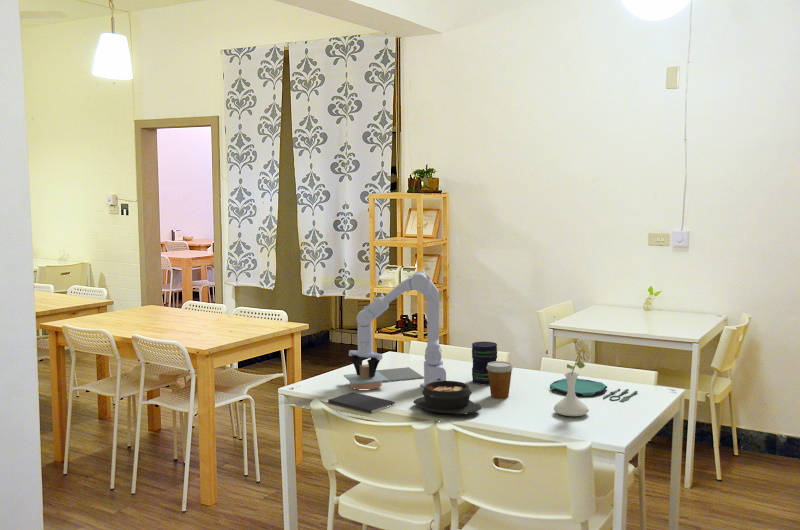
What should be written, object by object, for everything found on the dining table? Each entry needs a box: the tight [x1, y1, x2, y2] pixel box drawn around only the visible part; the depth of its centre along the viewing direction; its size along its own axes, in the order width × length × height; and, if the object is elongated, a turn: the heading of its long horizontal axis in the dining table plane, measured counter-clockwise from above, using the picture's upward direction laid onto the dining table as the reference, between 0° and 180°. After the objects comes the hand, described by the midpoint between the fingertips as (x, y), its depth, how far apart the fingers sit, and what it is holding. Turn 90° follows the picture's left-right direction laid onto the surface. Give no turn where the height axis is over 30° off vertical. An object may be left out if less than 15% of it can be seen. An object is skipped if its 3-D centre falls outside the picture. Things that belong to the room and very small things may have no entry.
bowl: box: [349, 381, 383, 390], centre depth 286 cm, size 12×12×3 cm
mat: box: [376, 366, 424, 383], centre depth 303 cm, size 18×18×1 cm
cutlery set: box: [549, 377, 638, 403], centre depth 274 cm, size 20×30×2 cm, turn 51°
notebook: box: [327, 391, 396, 414], centre depth 263 cm, size 13×2×21 cm
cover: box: [343, 363, 389, 385], centre depth 286 cm, size 14×14×5 cm
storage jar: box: [471, 341, 498, 386], centre depth 290 cm, size 10×10×15 cm
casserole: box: [413, 380, 482, 415], centre depth 254 cm, size 25×19×8 cm
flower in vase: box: [553, 338, 592, 417], centre depth 246 cm, size 13×11×25 cm
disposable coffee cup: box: [486, 360, 514, 400], centre depth 269 cm, size 10×10×12 cm
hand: (365, 376), depth 286 cm, fingers closed on cover, 6 cm apart
